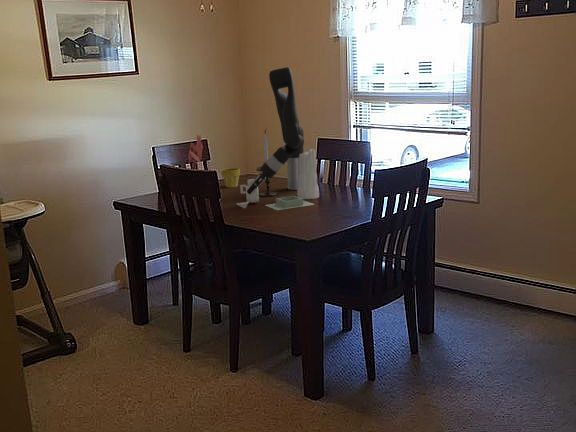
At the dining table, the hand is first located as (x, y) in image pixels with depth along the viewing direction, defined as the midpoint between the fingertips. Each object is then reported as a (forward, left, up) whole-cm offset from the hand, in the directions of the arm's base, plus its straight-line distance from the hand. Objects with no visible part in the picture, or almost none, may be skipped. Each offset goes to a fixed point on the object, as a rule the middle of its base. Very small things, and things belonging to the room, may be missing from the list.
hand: (248, 191), depth 330 cm
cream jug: (0, 0, -5) cm, 5 cm away
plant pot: (-11, -52, -7) cm, 54 cm away
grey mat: (-1, +1, -7) cm, 7 cm away
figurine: (+19, -13, -7) cm, 24 cm away
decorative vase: (-30, +4, -7) cm, 31 cm away
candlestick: (-17, -16, -7) cm, 25 cm away
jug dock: (-14, +15, -7) cm, 22 cm away
